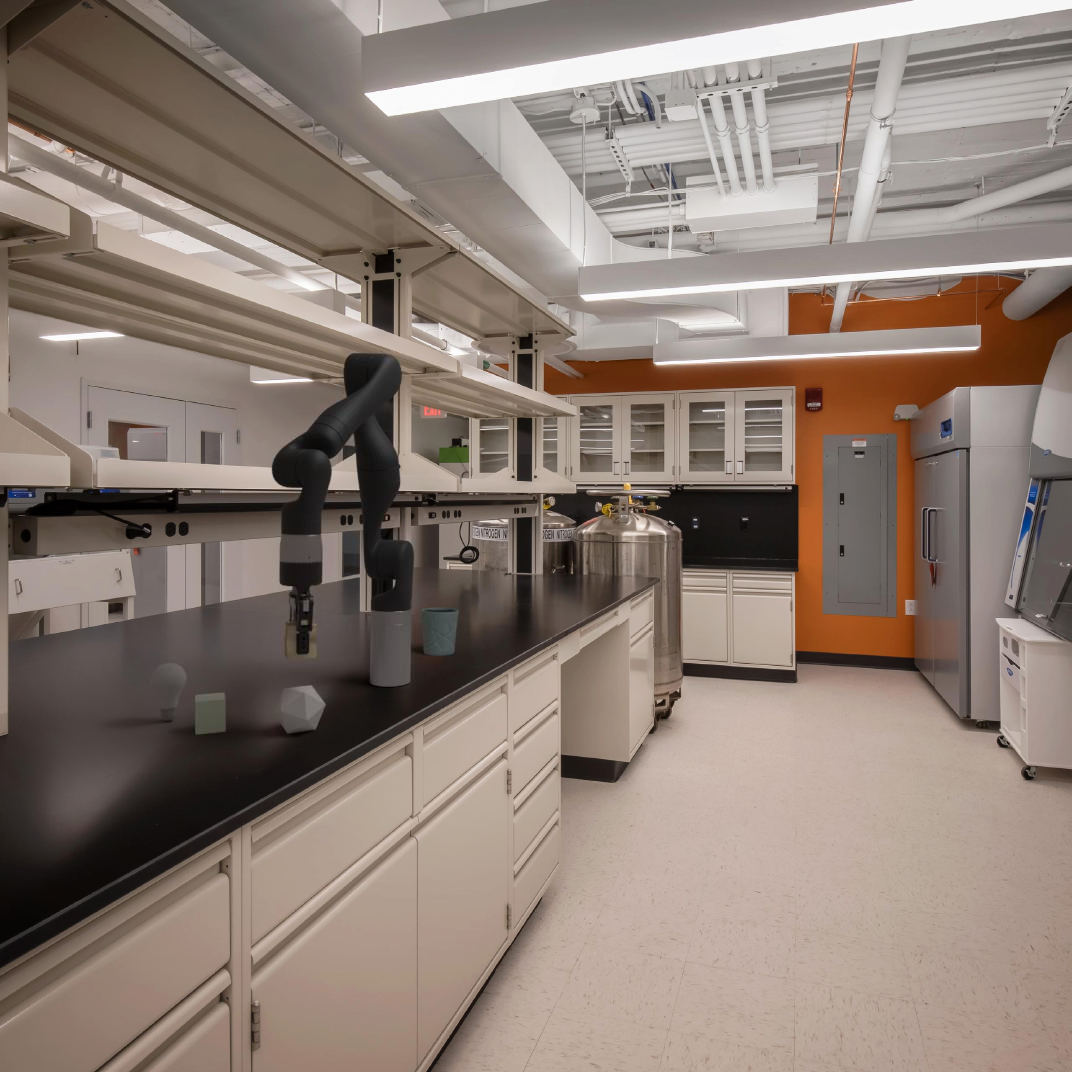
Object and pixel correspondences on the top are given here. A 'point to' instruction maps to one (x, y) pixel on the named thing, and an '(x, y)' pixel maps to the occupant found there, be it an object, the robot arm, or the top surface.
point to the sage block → (210, 713)
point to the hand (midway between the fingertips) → (300, 650)
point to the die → (299, 709)
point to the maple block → (291, 641)
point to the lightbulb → (168, 687)
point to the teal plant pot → (439, 630)
